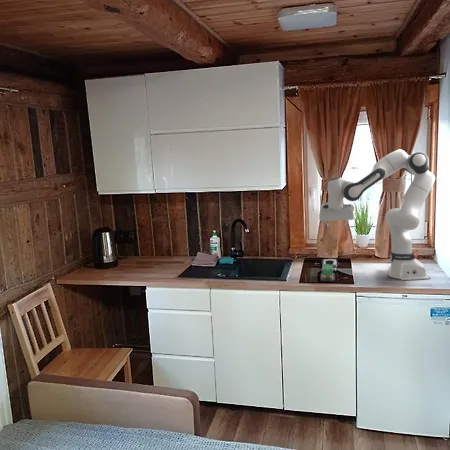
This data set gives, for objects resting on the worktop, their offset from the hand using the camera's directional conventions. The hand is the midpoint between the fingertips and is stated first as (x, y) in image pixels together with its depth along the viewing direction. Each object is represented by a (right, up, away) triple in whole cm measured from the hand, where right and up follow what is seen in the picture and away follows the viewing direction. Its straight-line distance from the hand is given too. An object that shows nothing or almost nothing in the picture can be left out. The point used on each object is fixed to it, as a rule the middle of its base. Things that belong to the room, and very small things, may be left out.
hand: (336, 227), depth 278 cm
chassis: (-6, -30, -4) cm, 31 cm away
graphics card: (-1, -27, +19) cm, 32 cm away
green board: (-6, -26, -5) cm, 27 cm away
